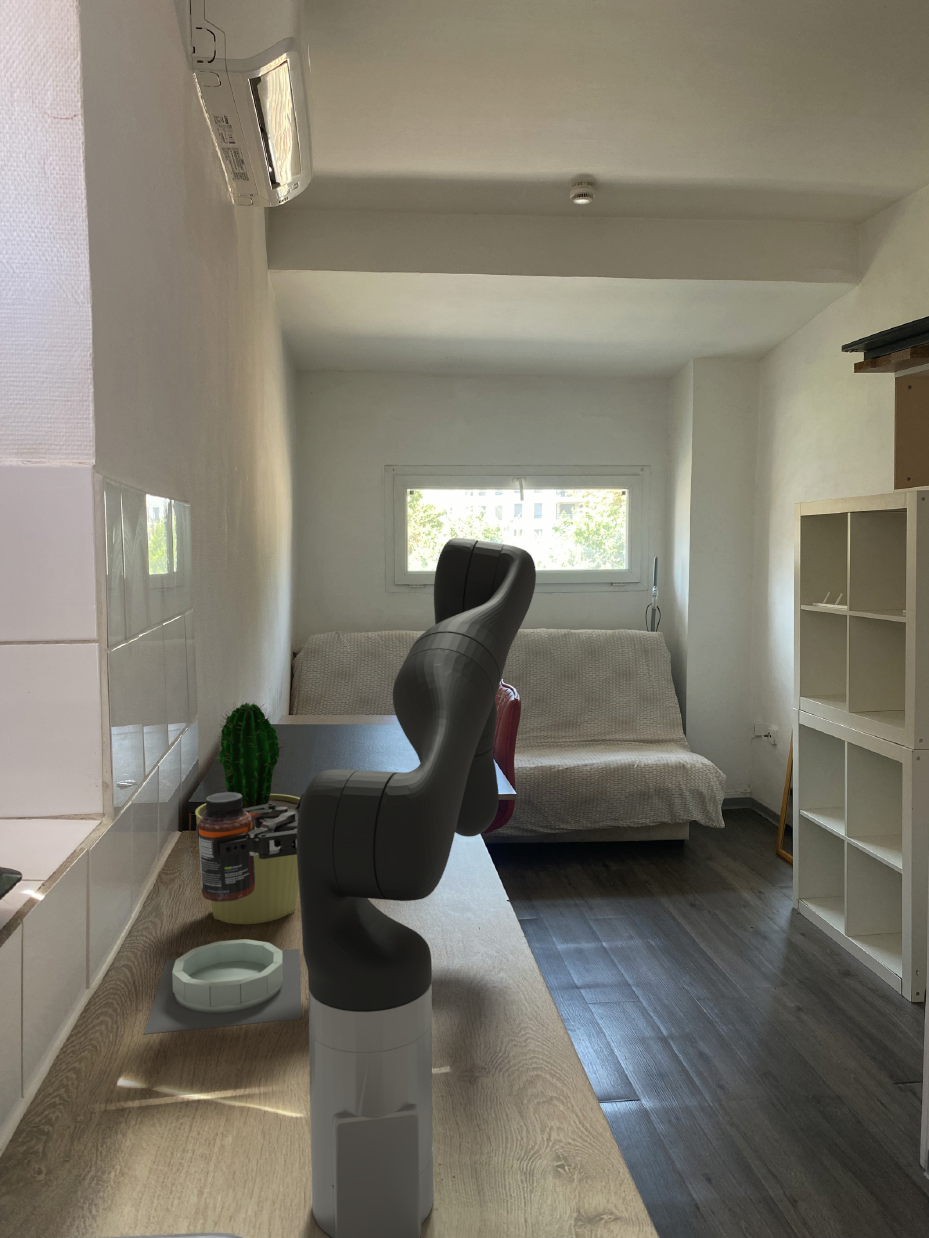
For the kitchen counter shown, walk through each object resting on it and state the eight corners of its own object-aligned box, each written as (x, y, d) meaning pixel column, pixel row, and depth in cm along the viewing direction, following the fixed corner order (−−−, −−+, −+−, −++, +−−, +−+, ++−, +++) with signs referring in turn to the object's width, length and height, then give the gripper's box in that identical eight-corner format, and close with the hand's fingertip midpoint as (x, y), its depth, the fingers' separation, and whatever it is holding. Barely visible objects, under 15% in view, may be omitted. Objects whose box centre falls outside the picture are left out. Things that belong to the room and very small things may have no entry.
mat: (301, 1022, 98) (301, 1018, 98) (143, 1037, 95) (143, 1033, 95) (299, 951, 115) (299, 948, 115) (166, 962, 112) (166, 959, 112)
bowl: (282, 1006, 100) (281, 980, 100) (167, 1017, 98) (167, 990, 98) (283, 960, 112) (282, 936, 112) (180, 968, 110) (180, 944, 110)
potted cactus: (321, 922, 125) (317, 703, 123) (203, 940, 119) (198, 710, 117) (298, 885, 139) (295, 688, 137) (192, 899, 133) (187, 694, 131)
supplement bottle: (234, 880, 109) (231, 786, 108) (266, 892, 105) (263, 794, 104) (190, 895, 104) (186, 797, 103) (222, 908, 100) (218, 806, 99)
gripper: (320, 774, 117) (187, 794, 108) (368, 799, 105) (221, 823, 96) (322, 832, 118) (189, 856, 109) (369, 864, 105) (223, 893, 97)
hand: (205, 841), depth 103 cm, fingers closed on supplement bottle, 6 cm apart
